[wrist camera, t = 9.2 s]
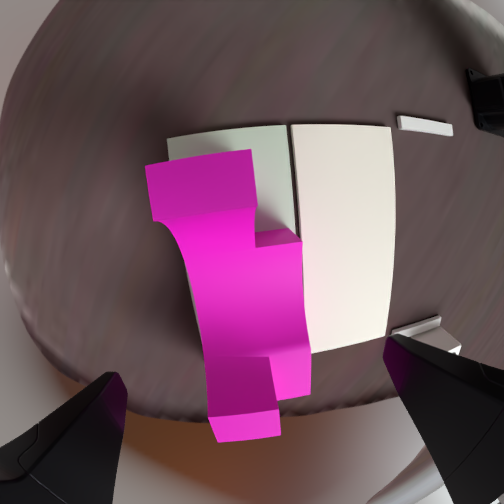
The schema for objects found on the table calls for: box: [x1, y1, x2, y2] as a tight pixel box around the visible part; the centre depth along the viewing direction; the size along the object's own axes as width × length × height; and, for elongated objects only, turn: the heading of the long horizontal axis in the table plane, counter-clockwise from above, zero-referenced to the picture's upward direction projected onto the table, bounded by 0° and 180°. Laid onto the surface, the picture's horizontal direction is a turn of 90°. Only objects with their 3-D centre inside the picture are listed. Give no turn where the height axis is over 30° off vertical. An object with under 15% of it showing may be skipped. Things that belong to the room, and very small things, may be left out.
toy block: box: [145, 149, 311, 442], centre depth 15 cm, size 15×6×8 cm, turn 7°
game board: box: [167, 116, 453, 353], centre depth 18 cm, size 22×19×1 cm
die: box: [411, 326, 461, 355], centre depth 21 cm, size 4×4×4 cm
